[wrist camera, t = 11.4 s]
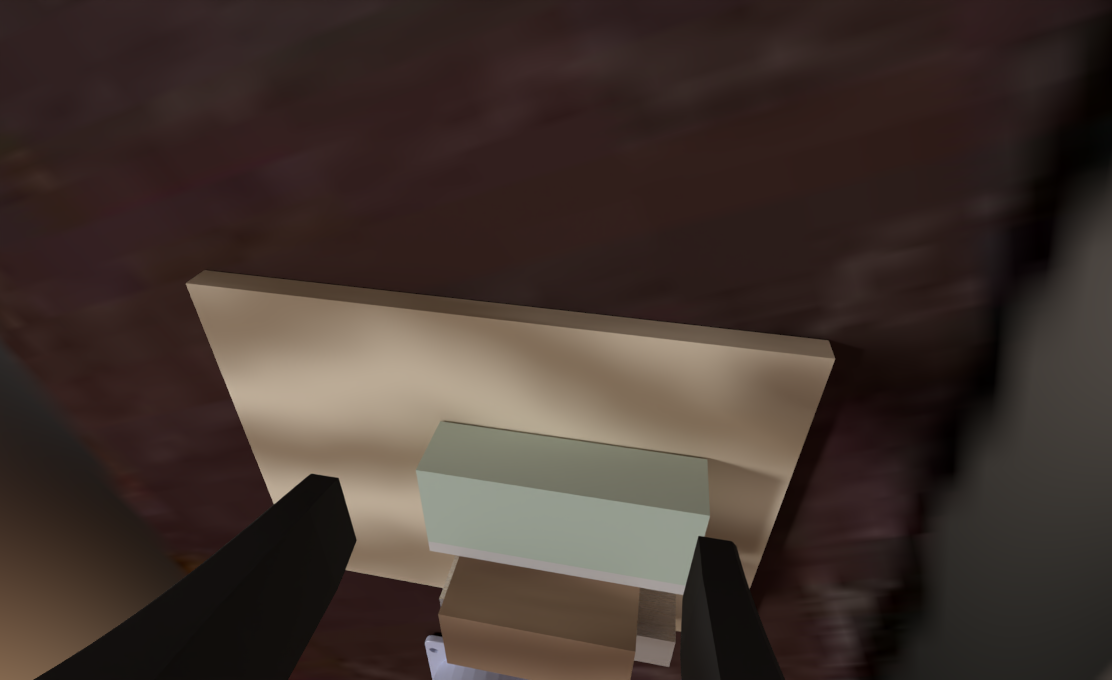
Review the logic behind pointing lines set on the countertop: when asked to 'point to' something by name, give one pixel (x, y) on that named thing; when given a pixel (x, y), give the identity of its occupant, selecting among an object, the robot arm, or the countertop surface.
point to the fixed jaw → (641, 623)
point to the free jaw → (564, 505)
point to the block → (538, 623)
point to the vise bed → (498, 398)
